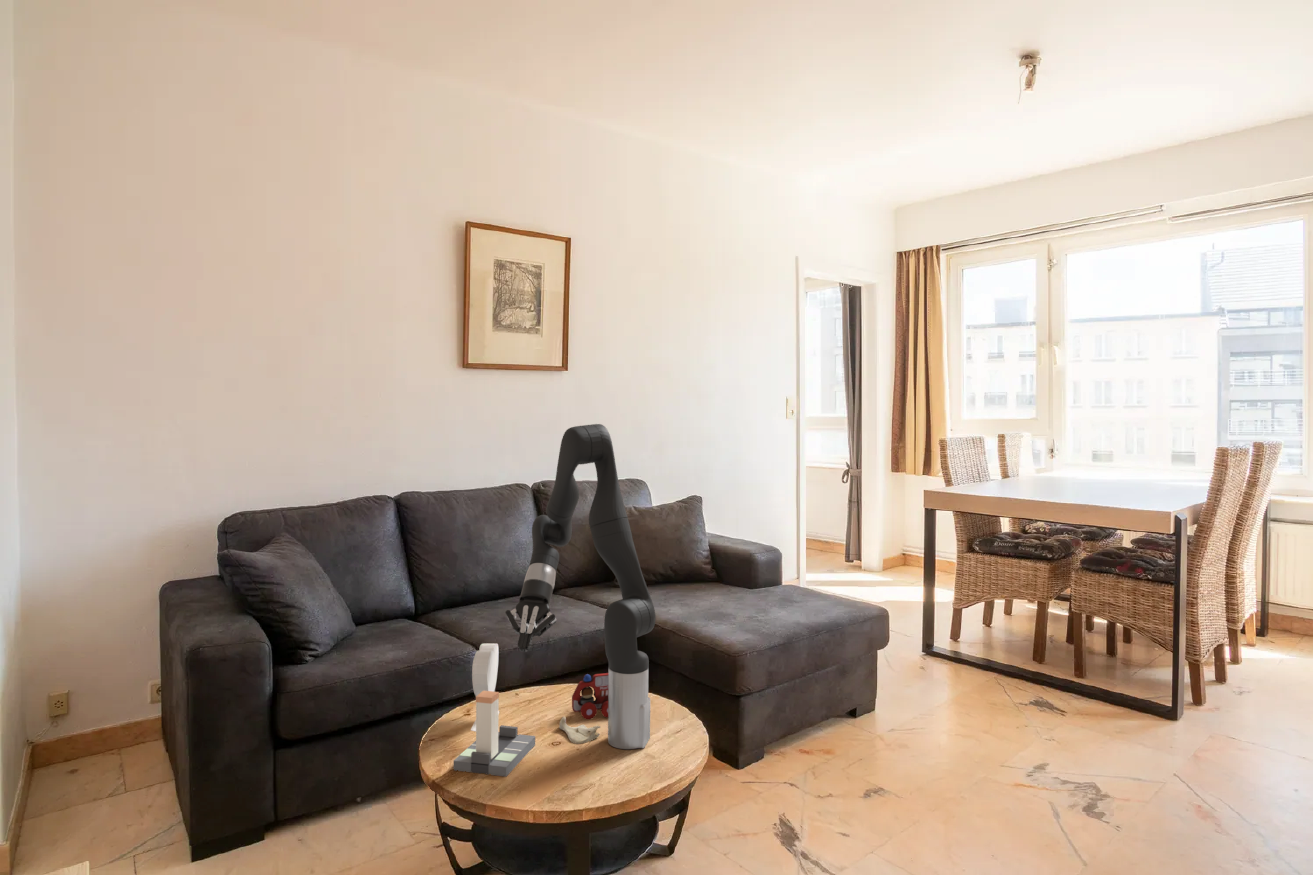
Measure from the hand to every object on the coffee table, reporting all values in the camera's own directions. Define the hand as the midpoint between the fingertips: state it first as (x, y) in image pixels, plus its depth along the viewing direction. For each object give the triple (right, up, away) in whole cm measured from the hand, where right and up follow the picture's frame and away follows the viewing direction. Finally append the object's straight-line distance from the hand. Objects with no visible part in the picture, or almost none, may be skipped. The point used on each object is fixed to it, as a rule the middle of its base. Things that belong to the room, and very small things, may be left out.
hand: (522, 650), depth 182 cm
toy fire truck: (+16, -20, +13) cm, 29 cm away
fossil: (+13, -20, +1) cm, 24 cm away
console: (-4, -20, -12) cm, 24 cm away
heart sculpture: (-10, -20, +8) cm, 23 cm away
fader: (-5, -18, -17) cm, 25 cm away
